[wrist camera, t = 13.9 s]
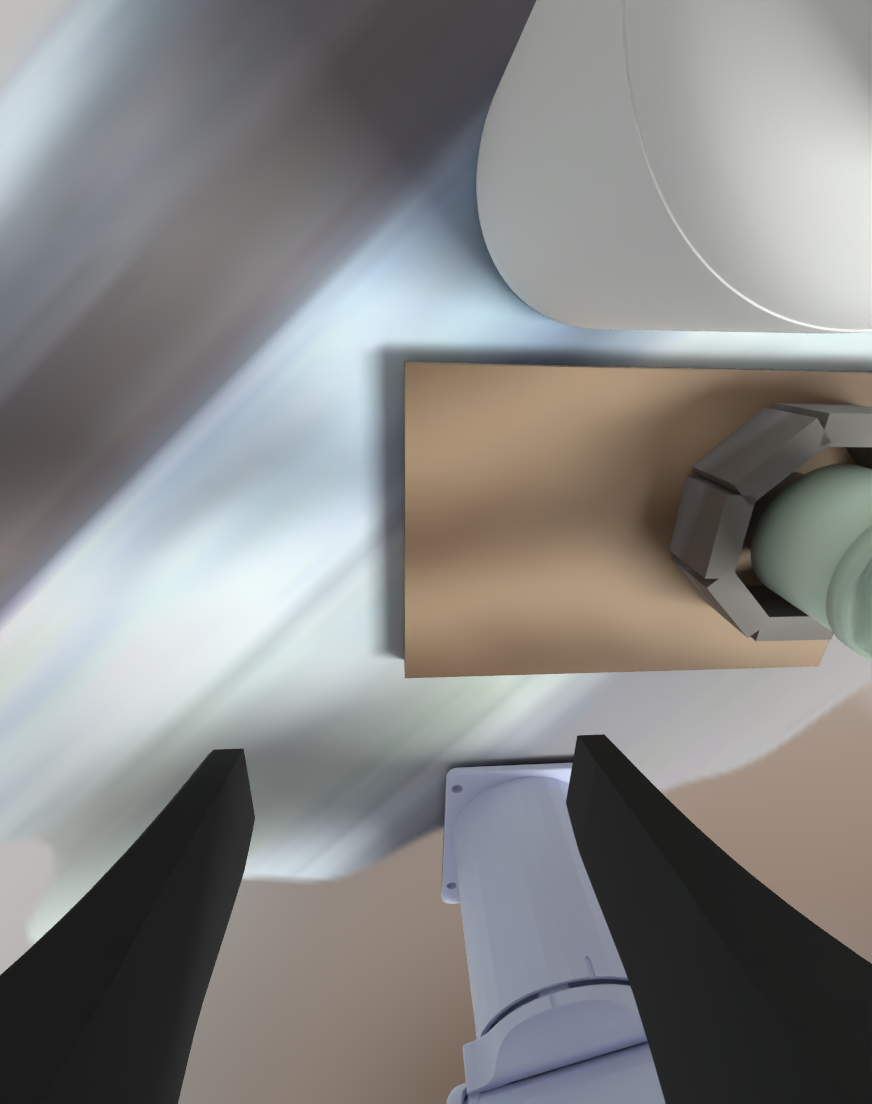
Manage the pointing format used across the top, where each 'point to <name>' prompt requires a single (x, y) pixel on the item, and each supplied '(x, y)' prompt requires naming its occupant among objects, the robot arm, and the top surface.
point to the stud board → (608, 513)
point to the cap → (822, 550)
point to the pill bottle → (685, 165)
